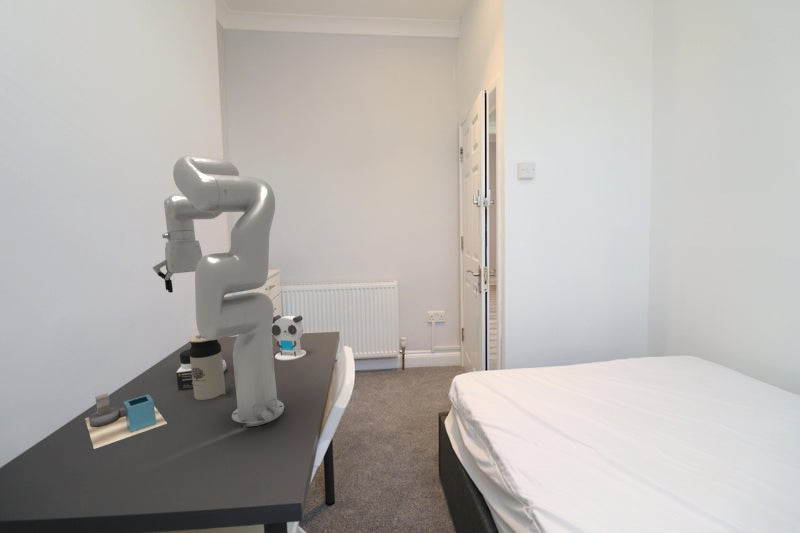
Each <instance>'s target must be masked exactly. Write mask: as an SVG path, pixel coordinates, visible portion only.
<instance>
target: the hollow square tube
mask: <svg viewBox="0 0 800 533" xmlns="http://www.w3.org/2000/svg"><path fill="white" fill-rule="evenodd" d="M154 406H155V403H154V399H153V398H152V397H151V395H150V394H145V395H141V396H138V397H135V398H132V399H127V400H124V401H123V407H124V408H125V416H126V423H127V427H128V429H129V430H130V432H134V431H137V430H140V429H143V428H146V427H148V426H151V425H154V424H156V417H155V409H154Z"/></svg>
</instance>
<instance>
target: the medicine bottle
mask: <svg viewBox="0 0 800 533" xmlns="http://www.w3.org/2000/svg"><path fill="white" fill-rule="evenodd" d="M189 350H190V348H188V349H185V350H183V351H181V352H180V354H179V360H180V367H179V368H178V369H177V371H176V372H175V373H176V381H177V390H178V391H180V392H181V391H187V390H194V389H193V380H192V371H191V362H190V353H189Z"/></svg>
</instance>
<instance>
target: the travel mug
mask: <svg viewBox="0 0 800 533" xmlns="http://www.w3.org/2000/svg"><path fill="white" fill-rule="evenodd" d="M188 341H189V342H190V344H191V346H190V348H189V349H190V350H189V353H190V362H191V371H192V380H193V389H192V390H193V396H194V399H195V400H200V401H205V400H206V401H207V400H210V399H211V400H212V399H215V398H218V397H220V396H222V395H226V385H225V384H226V383H225V382H226V381H225V373H224V372H225V371H224V372H223V362H222V360H223V354H222V346H221V344H220V342H219V339H217V340H206V339H204V338H203V337H202V336H201V335H200V334H197V335H194V336H191V337H190V338H189V340H188Z"/></svg>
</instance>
